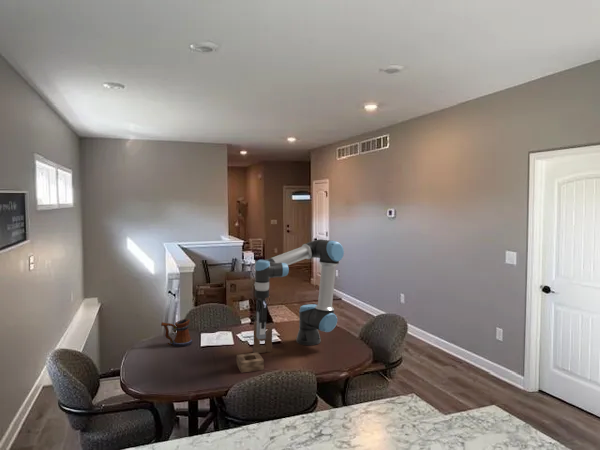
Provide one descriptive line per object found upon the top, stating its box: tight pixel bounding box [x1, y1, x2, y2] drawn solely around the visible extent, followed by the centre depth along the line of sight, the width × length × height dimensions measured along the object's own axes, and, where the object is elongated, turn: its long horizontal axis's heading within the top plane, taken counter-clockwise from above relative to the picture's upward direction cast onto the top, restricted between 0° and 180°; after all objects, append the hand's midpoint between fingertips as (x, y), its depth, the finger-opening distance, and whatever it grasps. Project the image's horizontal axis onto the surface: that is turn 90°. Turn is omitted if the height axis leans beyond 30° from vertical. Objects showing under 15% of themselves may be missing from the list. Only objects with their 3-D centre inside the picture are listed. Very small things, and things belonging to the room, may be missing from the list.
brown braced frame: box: [252, 320, 273, 354], centre depth 247 cm, size 4×11×18 cm, turn 111°
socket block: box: [236, 352, 265, 374], centre depth 225 cm, size 12×12×5 cm
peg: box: [256, 311, 267, 339], centre depth 226 cm, size 4×4×14 cm
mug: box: [160, 318, 193, 348], centre depth 258 cm, size 18×12×15 cm, turn 108°
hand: (261, 332), depth 227 cm, fingers closed on peg, 4 cm apart
